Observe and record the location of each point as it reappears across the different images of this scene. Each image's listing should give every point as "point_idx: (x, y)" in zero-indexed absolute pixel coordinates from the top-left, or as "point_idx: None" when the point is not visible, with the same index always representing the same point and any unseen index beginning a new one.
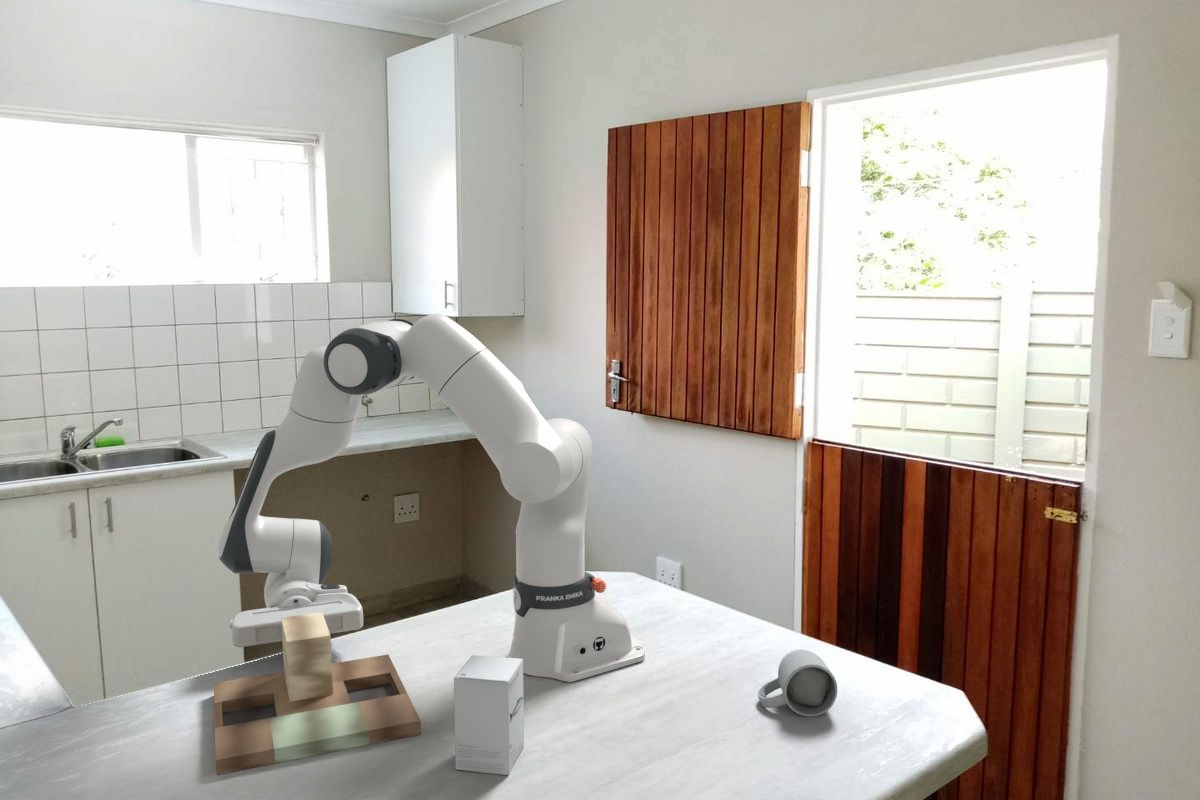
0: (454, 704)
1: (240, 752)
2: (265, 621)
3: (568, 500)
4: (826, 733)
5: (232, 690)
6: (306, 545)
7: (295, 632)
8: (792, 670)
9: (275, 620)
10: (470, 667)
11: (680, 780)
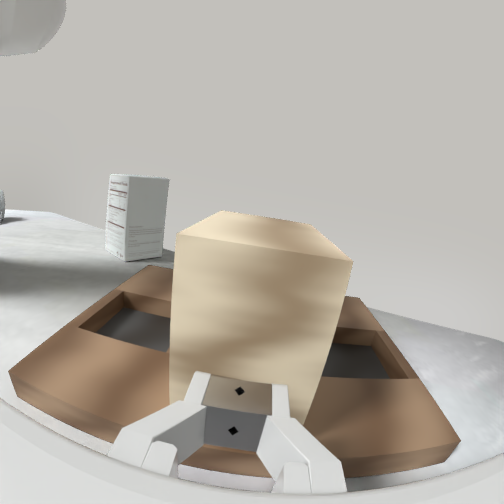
0: (166, 201)
1: None
2: (468, 482)
3: None
4: (15, 217)
5: (407, 407)
6: None
7: (293, 227)
8: (2, 194)
9: (414, 491)
10: (149, 176)
11: (84, 226)
